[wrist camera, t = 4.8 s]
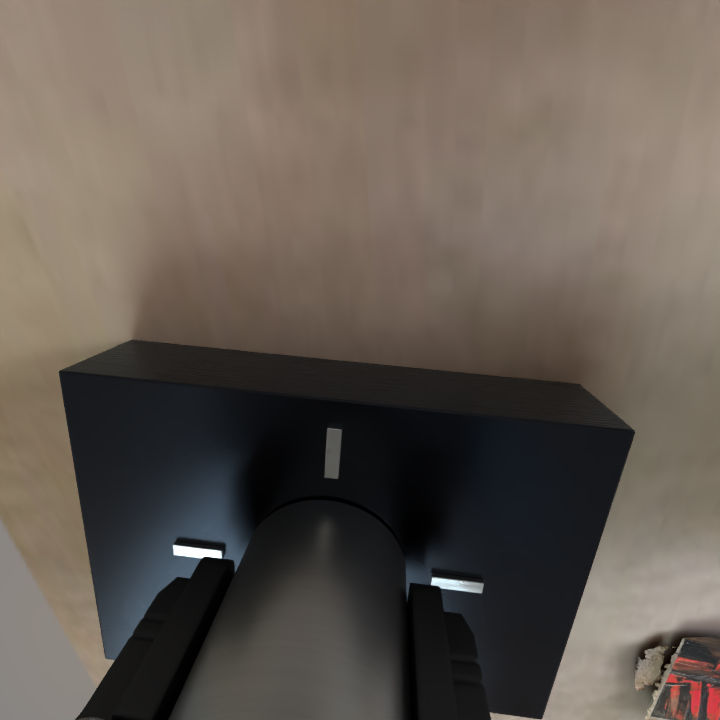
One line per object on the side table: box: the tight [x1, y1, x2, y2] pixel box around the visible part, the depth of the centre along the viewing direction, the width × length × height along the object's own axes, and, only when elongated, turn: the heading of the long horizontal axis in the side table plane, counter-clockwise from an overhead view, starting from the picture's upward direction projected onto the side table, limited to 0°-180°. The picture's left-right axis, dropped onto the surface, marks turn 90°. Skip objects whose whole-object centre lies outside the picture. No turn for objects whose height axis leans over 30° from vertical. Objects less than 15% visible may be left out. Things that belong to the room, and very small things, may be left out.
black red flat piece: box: [635, 637, 720, 720], centre depth 15 cm, size 5×5×1 cm
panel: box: [59, 340, 635, 719], centre depth 13 cm, size 14×10×3 cm
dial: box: [168, 500, 411, 720], centre depth 9 cm, size 4×4×6 cm
